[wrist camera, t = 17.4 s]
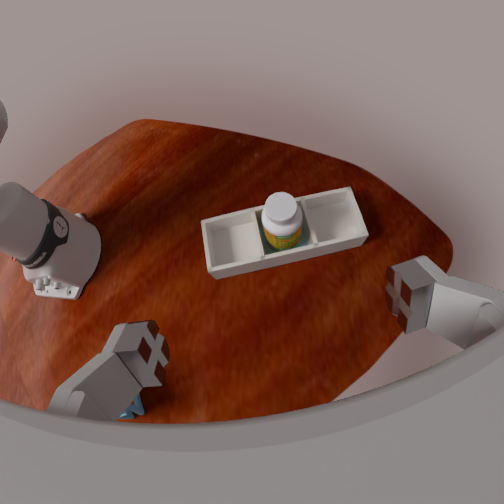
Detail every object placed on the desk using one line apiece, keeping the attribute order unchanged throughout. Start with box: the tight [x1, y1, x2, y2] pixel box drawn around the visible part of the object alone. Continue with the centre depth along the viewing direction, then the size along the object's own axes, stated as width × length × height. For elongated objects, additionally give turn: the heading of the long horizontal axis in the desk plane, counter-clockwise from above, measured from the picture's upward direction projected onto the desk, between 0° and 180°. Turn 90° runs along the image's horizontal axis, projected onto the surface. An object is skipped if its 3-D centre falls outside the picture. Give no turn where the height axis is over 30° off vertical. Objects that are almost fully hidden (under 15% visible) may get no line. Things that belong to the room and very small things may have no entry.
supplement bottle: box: [261, 192, 302, 251], centre depth 37 cm, size 5×5×10 cm
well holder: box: [201, 187, 368, 279], centre depth 41 cm, size 23×8×4 cm, turn 101°
